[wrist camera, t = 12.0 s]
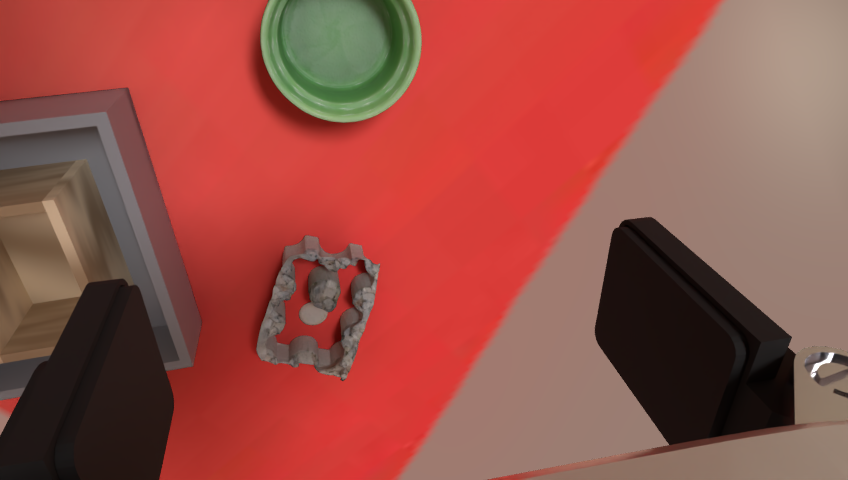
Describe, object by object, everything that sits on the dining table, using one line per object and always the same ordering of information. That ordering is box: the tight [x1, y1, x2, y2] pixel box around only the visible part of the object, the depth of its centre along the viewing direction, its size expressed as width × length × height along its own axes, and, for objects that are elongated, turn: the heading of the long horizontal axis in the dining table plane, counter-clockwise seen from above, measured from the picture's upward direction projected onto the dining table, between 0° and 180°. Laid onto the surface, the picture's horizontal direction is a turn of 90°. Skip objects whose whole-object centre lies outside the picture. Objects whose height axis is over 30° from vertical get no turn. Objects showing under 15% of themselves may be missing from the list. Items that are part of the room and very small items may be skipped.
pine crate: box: [0, 159, 134, 364], centre depth 36 cm, size 10×7×6 cm
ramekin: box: [260, 0, 422, 123], centre depth 34 cm, size 9×9×4 cm
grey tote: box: [0, 88, 202, 400], centre depth 37 cm, size 18×14×5 cm
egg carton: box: [256, 235, 380, 381], centre depth 44 cm, size 11×8×4 cm
